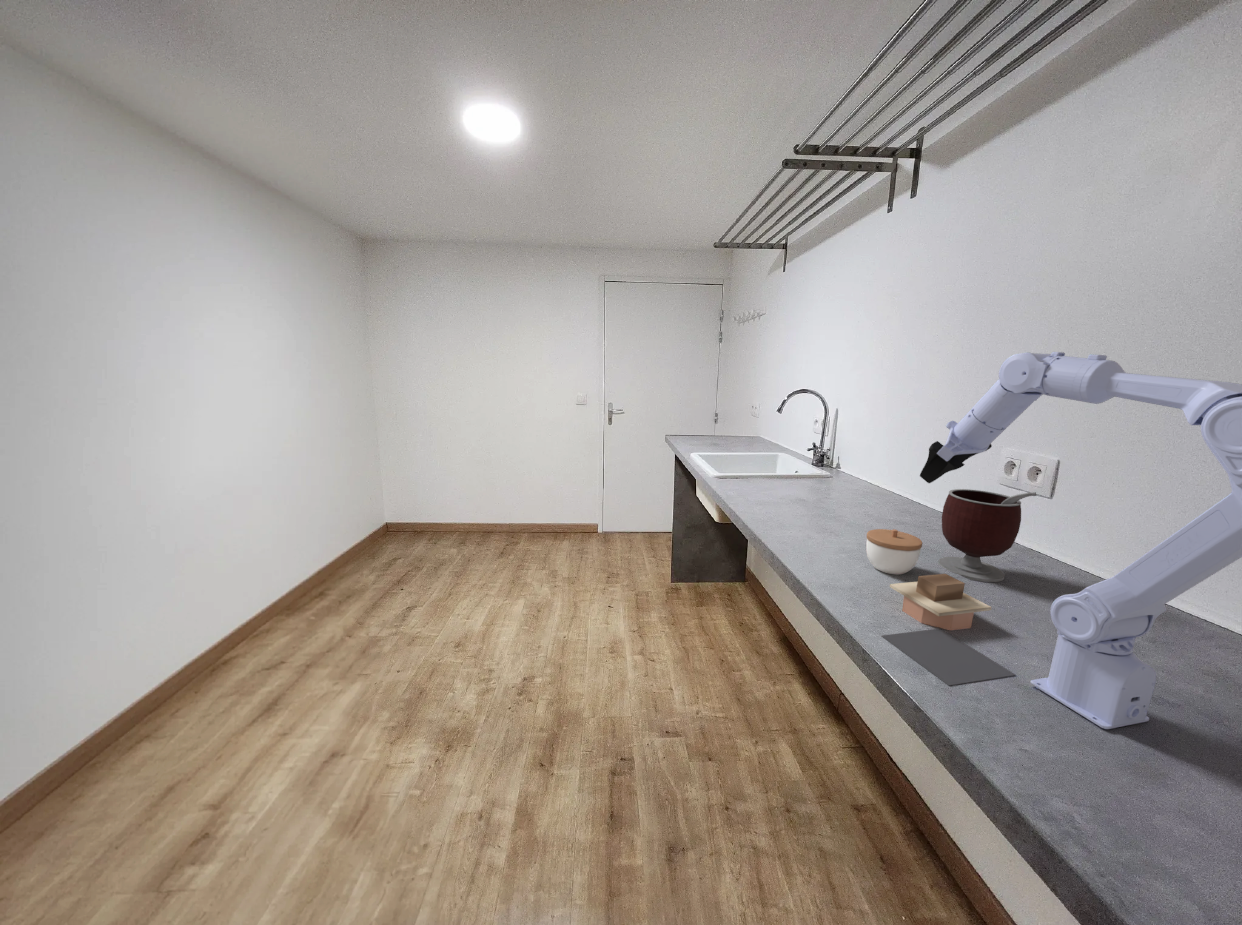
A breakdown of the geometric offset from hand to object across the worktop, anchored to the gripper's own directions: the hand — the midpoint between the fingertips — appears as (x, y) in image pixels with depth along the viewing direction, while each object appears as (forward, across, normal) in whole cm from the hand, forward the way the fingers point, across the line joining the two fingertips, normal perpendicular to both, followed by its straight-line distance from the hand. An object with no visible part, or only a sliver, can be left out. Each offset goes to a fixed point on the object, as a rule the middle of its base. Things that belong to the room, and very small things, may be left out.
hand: (936, 472), depth 90 cm
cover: (+15, +8, +16) cm, 23 cm away
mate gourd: (+26, -20, +17) cm, 37 cm away
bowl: (+17, +8, +18) cm, 26 cm away
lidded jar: (+29, -4, +7) cm, 30 cm away
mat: (+11, +21, +22) cm, 32 cm away
